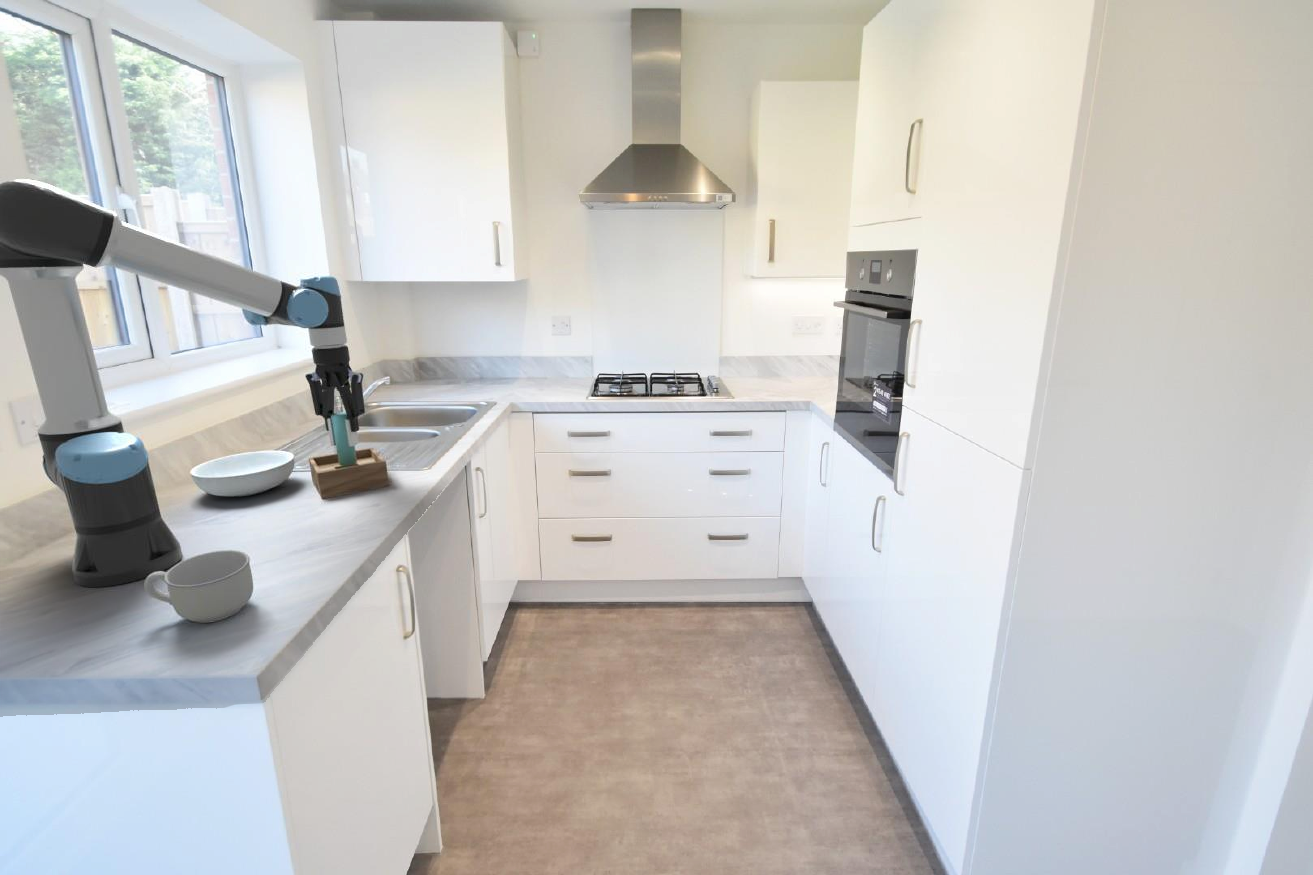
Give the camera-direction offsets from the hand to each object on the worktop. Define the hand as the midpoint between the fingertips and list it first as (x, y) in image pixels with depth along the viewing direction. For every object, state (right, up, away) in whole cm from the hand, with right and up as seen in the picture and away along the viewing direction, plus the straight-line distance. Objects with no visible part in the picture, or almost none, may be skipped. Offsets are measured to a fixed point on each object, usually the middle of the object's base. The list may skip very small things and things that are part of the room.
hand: (345, 444), depth 156 cm
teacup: (+5, -26, -55) cm, 61 cm away
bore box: (0, -10, +3) cm, 10 cm away
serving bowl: (-23, -11, 0) cm, 25 cm away
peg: (0, -5, +1) cm, 5 cm away
